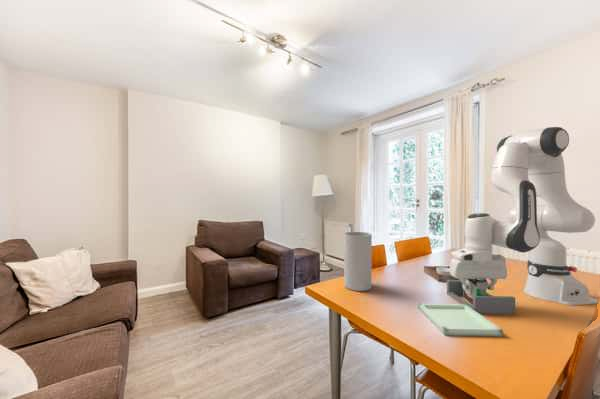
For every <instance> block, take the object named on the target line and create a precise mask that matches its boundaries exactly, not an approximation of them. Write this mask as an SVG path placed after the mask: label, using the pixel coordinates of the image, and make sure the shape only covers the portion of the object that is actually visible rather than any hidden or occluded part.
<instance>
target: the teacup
mask: <svg viewBox="0 0 600 399" xmlns="http://www.w3.org/2000/svg"><path fill="white" fill-rule="evenodd" d="M436 271H437V273H438V274H450V269H449V268H444V267H438V268H436Z"/></svg>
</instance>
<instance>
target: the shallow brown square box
mask: <svg viewBox="0 0 600 399" xmlns="http://www.w3.org/2000/svg"><path fill="white" fill-rule="evenodd" d="M438 267H444V268H449V269H450V265H449V266H447V265H446V266H445V265H444V266H443V265H442V266H441V265H440V266H439V265H438V266H437V265H424V266H423V272H424V273H425V274H426V275H428V276H429V277H431V278H432V279H433V280H435V281H437V282H439V283H447V280H460V279H457V278H454V277H453V276H451V274H438V273H437V271H436V268H438Z"/></svg>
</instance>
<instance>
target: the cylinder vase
mask: <svg viewBox="0 0 600 399" xmlns="http://www.w3.org/2000/svg"><path fill="white" fill-rule="evenodd" d="M343 235H344V236H343V239H344V240H343V242H344V246H343V249H344V250H343V251H344V254H343V255H344V256H343V262H344V263H343V264H344V266H343V268H344V270H343V271H344V273H343V274H344V278H343V285H344V287H345V288H346V289H348V290H351V291H354V292H366V291H369V290H371V289H372V287H373V286H372V282H373V280H372V278H373V277H372V276H373V275H372V274H373V273H372V270H373V268H372V267H373V266H372V265H373V264H372V263H373V262H372V256H373V255H372V250H373V248H372V245H373V243H372V242H373V240H372V239H373V238H372V236H373V234H372V233H369V232H364V231H347V232H344V234H343Z"/></svg>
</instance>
